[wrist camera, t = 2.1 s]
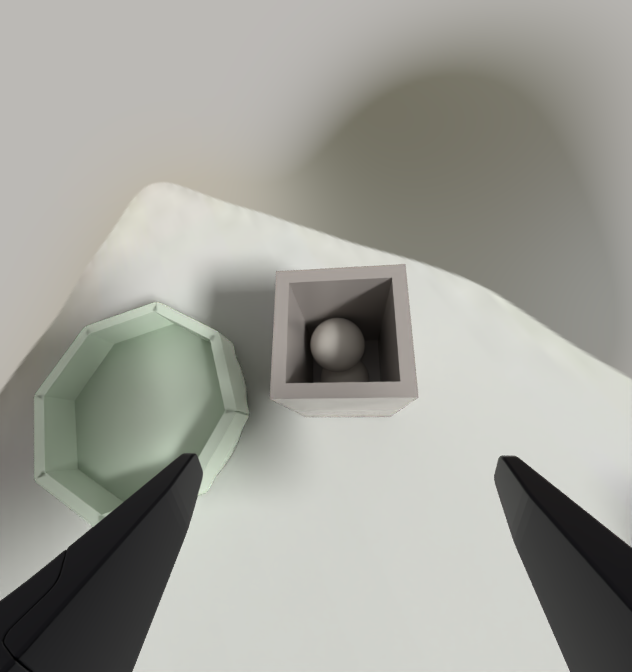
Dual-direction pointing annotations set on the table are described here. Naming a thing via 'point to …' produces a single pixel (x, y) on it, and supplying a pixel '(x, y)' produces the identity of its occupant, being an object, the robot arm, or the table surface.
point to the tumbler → (372, 319)
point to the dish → (136, 408)
